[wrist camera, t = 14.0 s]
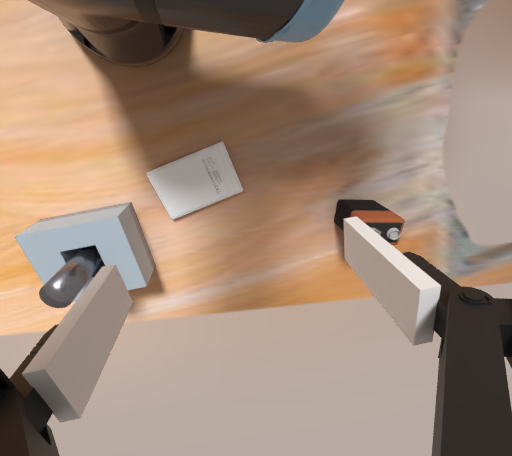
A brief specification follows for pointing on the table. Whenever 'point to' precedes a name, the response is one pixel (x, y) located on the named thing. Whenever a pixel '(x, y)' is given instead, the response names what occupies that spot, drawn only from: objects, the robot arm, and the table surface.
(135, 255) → the socket block
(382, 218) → the battery
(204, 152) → the external hard drive
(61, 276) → the pin
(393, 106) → the table surface
